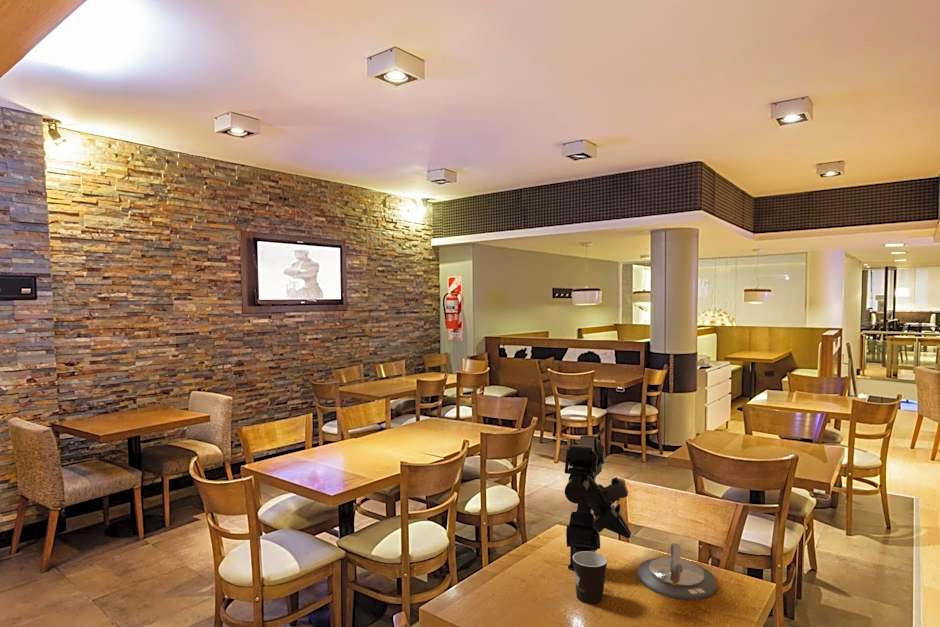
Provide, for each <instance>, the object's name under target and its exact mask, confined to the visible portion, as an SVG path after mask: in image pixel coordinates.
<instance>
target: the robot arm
mask: <svg viewBox="0 0 940 627" xmlns="http://www.w3.org/2000/svg"><path fill="white" fill-rule="evenodd" d="M568 447H569V448H567V449H566V453H565V454H566V456H565V466H564V474H566V475H567V474H568V475H569V476H568V482H567V484H566V485H565V489H564V496H565V498H566V499H567V500H568V501H569V502H570V503H572V504H576V505H577V508H576V510H575V511H572V512H571V513H570V518H569V524H567V525H566V529H565V530H566V532H565V537H566V539H565V540H566V548H567V547H568V548H569V547H570V550H569V551H570V554H569V559H570V560H569V562H570V563H569V564H568V565H567V569H568V570H569V569H570V570H572V571H574V566H573V555H574V554H575V553H577V552H582V551H591V552H597V551H598V550H600V549H601V535H600V533H601V532H602V531H603V530H604V529H606V530H609V531H610V532H613V533H616V534H617V535H620V536H622V537H623V538H626V539H630V538H631V537H632V531H631V529H630V528H629V526H628V524H627V523H626V520H624V517H623V516H622V514H621V506H622V505H621V503H619V504H617V505H615V502H616V501H617V502H619V501H620V499H624V498H626V497H628V496H629V494H628V493H629V490H628V488H627V486H626V483H625V481H624V480H620V478H618V477H614V478H611V484H608V486H603V485H602V484H601V483H599V484H598V483H597V482H596V477H597V476H598V475H599V474H600V473H601V472H602V470H603V465H605V460H606V453H605V451H606V450H605V446H603V445H602V444H601V443H600V442H599V439H598V437H597V436H595V435H586V434H585V435H580V440H579V442H578V443H577V444H571V445H569V446H568Z"/></svg>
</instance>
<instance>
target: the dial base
mask: <svg viewBox="0 0 940 627" xmlns="http://www.w3.org/2000/svg"><path fill="white" fill-rule="evenodd" d="M659 558H660V557H656V558H650V559H647V560H644V561H642V562H640V564H639V565H638V567H637V579H638V580H639V582H640V583H641V584H642V585H643V586H644V587H645V588H647V589H648V590H650V591H652V592H654V593H656V594H659V595H661V596H664V597H667V598H672V599H675V600H676V599H677V600H683V601H695V600H696V601H697V599H699V600H704V599H708V598H710V597H712V596H713V595H714V594H715V593H716V592H715V591H717V589H716V588H717V586H718V585H717V583H718V581H717V579H716V578H717V577H715V575H714V574H713V573H712V572H711V571H710V570H708V569H707V568H705V567H704V566H701V565H699V564H696V563H694V562H692V563H693V564H695V565H697V566H698V567H700V568H701V569H702V570H703V572H704V582H703V583H702V584H700V585H698V586H695V587H677V586H672V585H668V584H665V583H663V582H660V581H658V580H657V579H655V578H654V577H653V576H652V575H651V574H650V572H649V564H650V563H651V562H652V561H653V560H655V559H659ZM711 595H712V596H711ZM707 597H708V598H707Z"/></svg>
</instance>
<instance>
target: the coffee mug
mask: <svg viewBox="0 0 940 627" xmlns="http://www.w3.org/2000/svg"><path fill="white" fill-rule="evenodd" d="M573 566H574V570H573V576H574V583H575V592H576V599H577V600H578V601H579V602H581V603H582V604H587V605H598V604H600V603H601V602H603V597H604V596H603V595H604V588H605V581H606V580H605V579H606V575H607V573H606V572H607V566H608V558H607V557H606V556H605V555H603V554H602V553H598V552H597V551H595V552H591V551H582V552H577V553H575V554H574V555H573Z"/></svg>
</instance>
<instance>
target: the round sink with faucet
mask: <svg viewBox="0 0 940 627" xmlns="http://www.w3.org/2000/svg"><path fill="white" fill-rule="evenodd" d="M658 558H659V559H655V560H653V561H652V562H651V563H650V564H649V572H650V574H651V575H652V576H653V577H654V578H655V579H657V580H658V581H660V582H663V583H665V584H668V585H672V586H677V587H695V586H698V585H700V584H702V583H703V582H704V572H703V570H702V569H701V568H700V567H698V566H697V565H698V564H697V565H695V564H696V563H694V562H691V561H688V560H685V559H681V545H680V544H679V543H671V544H670V557H658ZM693 563H694V564H693Z"/></svg>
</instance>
